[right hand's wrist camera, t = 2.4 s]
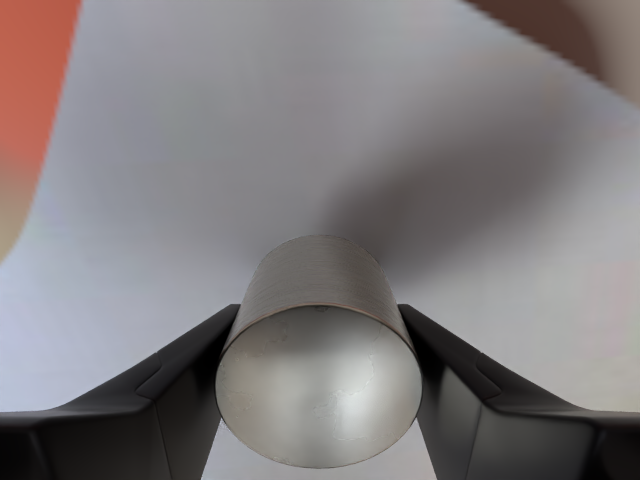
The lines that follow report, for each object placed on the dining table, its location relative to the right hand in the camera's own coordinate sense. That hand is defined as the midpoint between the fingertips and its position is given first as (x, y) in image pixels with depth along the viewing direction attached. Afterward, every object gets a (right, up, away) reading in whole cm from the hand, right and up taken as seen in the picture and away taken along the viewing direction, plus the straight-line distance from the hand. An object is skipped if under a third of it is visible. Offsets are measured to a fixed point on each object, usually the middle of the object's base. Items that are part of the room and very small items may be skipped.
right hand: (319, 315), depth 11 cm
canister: (0, 0, +1) cm, 1 cm away
